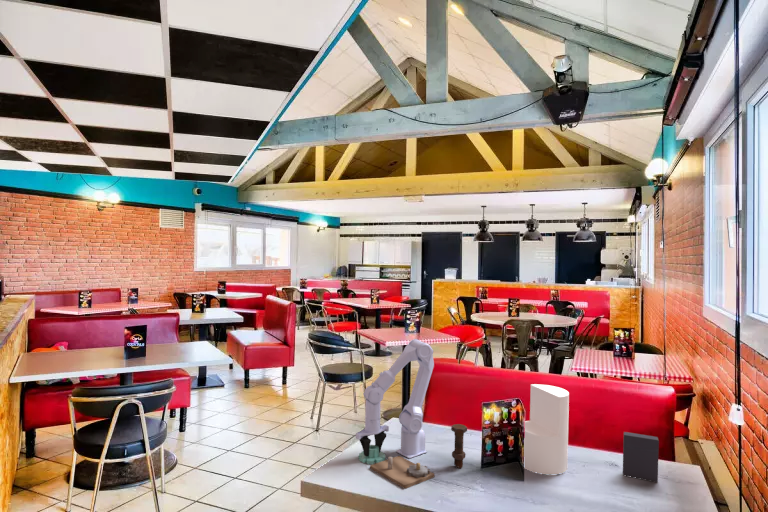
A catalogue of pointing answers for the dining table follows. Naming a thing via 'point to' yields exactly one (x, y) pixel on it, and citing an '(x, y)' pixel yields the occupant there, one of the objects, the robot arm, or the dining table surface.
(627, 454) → the calculator
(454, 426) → the bolt
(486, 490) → the dining table surface
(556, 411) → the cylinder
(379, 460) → the teal gear
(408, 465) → the gear board
